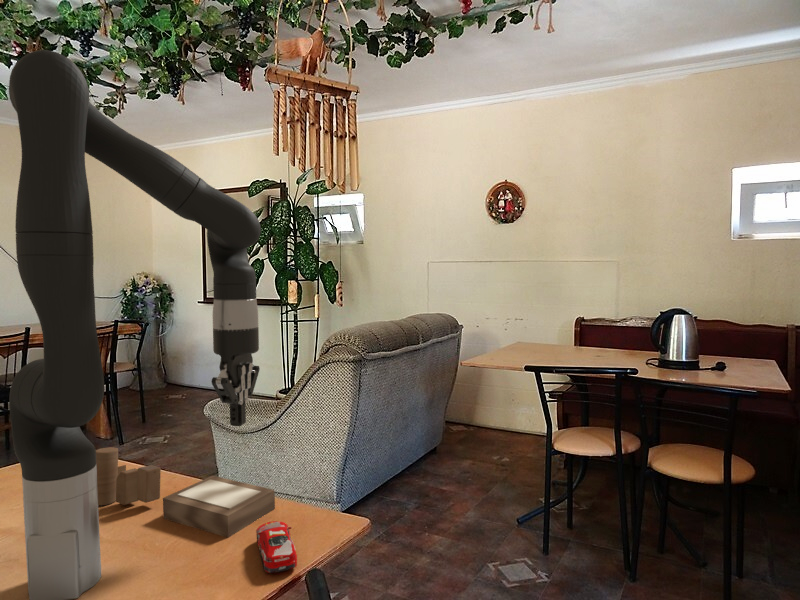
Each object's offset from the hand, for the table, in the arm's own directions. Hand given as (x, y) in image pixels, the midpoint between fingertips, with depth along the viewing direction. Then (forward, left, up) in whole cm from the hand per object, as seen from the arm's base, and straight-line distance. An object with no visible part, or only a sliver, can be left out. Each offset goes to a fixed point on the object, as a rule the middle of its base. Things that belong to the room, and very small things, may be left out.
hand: (238, 424), depth 96 cm
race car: (-7, -5, -21) cm, 22 cm away
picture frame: (+7, +4, -19) cm, 21 cm away
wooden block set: (+18, +24, -19) cm, 35 cm away
